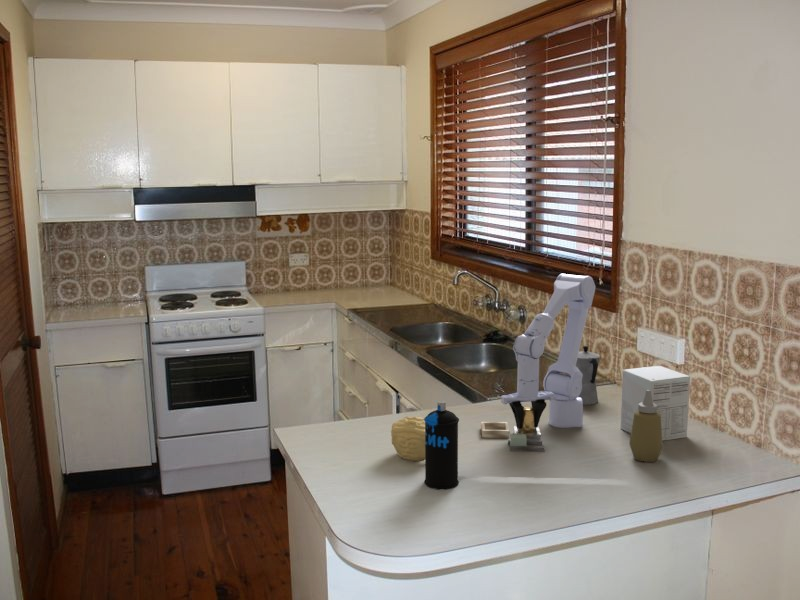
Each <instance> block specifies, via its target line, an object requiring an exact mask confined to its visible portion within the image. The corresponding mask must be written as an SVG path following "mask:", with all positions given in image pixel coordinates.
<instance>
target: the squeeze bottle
mask: <svg viewBox="0 0 800 600" xmlns="http://www.w3.org/2000/svg"><path fill="white" fill-rule="evenodd" d="M629 446H630V449H631V453H632V457H633V459H635V460H637V461H638V462H643V461H644V462H645V463H654V462H657V460H658V458H659V456H660V454H661V452H662V449H663V441H662V430H661V416H660V414H659V413H658V412H657V405H656V404H654V403H653V400H652V394H651V391H650V390H646V393H645V396H644V400H643V402H641V403H639V404H638V411H636V412H635V413H634V418H633V424H632V431H631V433H630V438H629Z"/></svg>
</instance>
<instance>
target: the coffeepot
mask: <svg viewBox="0 0 800 600" xmlns="http://www.w3.org/2000/svg"><path fill="white" fill-rule="evenodd" d="M582 349H583V351H582V350H579V354H578V358H577V362H576V367H577V368H578V369H579V370H580V372H581V373H582V374H583V376H582V390H581V393H580V395H579V396H578V397H581V398H582V401H583V406H584V405H585V406H589V405H590V406H591V404H592V405H595V404H598V402H599V399H598V390H597V381H596V378H597V373H598V369H599V363H600V358H601V357H600V356H601V355H600V354H598V353H595V352H592V351H588V349H589V346H588V345H583V348H582Z"/></svg>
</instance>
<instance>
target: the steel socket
mask: <svg viewBox="0 0 800 600" xmlns="http://www.w3.org/2000/svg"><path fill="white" fill-rule="evenodd" d="M512 428H513V434H526V438H527V440H541V441H542V433H541V430H540V428H539V426H538V427H536V428H535V429H534V434H530V433H520V429H519V428H517V425H514V426H513V427H512Z"/></svg>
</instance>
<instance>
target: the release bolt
mask: <svg viewBox="0 0 800 600" xmlns="http://www.w3.org/2000/svg"><path fill="white" fill-rule="evenodd" d="M509 438H510V439H509V440H510V445H509V446H528V445H527V438H526V434H514V433H513V434H512V433H510V434H509Z"/></svg>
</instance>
